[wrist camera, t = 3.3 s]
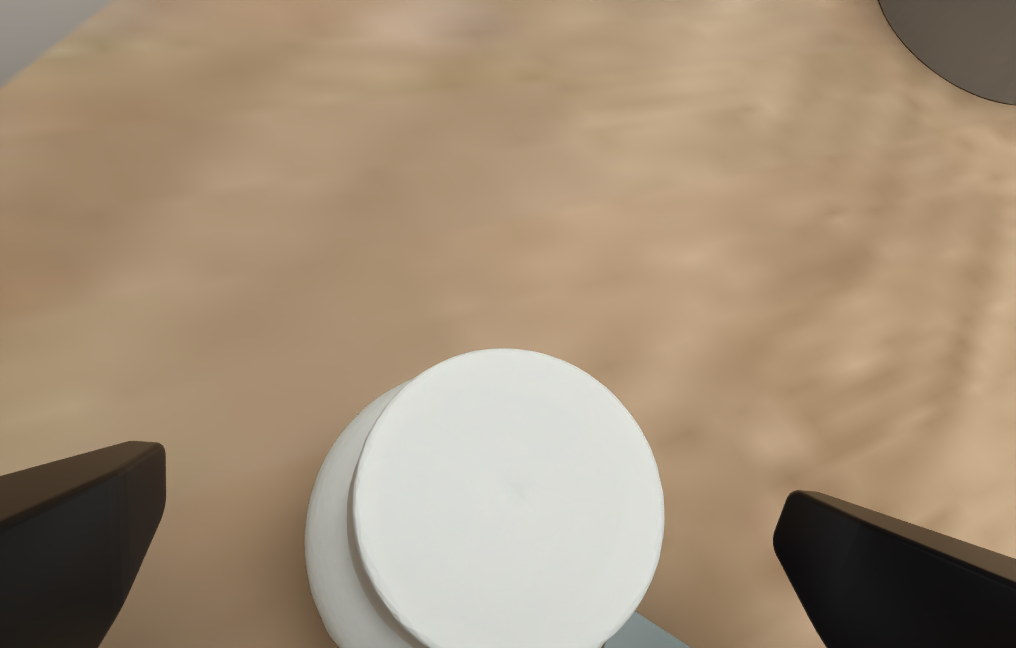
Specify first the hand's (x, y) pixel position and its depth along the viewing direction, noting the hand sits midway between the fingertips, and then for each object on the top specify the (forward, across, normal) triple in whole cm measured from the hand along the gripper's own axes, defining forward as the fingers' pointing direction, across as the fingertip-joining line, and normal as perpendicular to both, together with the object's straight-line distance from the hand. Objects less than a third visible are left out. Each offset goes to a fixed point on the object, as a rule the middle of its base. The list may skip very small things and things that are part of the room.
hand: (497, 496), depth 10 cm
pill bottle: (+6, 0, -6) cm, 9 cm away
